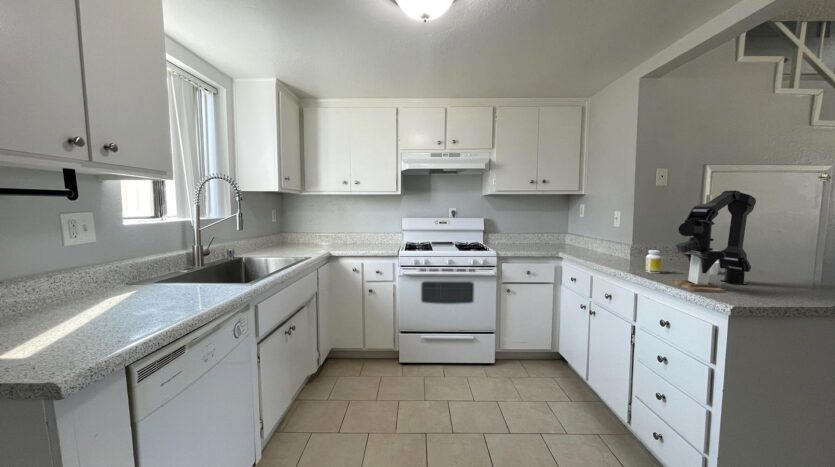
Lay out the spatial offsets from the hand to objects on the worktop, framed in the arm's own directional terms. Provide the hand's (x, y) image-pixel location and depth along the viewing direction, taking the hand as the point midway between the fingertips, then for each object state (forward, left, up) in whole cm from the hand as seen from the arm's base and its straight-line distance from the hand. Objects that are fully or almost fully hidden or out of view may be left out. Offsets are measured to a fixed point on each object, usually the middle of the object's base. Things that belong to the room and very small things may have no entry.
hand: (698, 271), depth 133 cm
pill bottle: (-30, -2, -7) cm, 31 cm away
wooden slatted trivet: (0, 0, -7) cm, 7 cm away
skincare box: (0, 0, -5) cm, 5 cm away
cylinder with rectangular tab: (-34, +25, -7) cm, 43 cm away
